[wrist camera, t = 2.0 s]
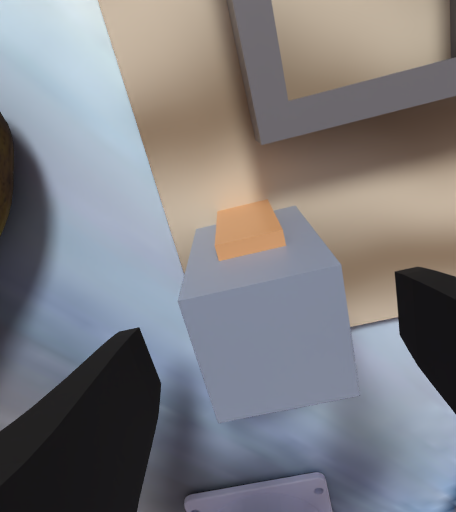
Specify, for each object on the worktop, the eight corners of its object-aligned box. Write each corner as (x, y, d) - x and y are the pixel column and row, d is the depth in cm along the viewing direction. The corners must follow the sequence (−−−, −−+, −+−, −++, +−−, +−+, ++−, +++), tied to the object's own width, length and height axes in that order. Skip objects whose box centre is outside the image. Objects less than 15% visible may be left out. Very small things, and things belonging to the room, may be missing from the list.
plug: (311, 294, 16) (359, 395, 10) (220, 314, 16) (218, 423, 10) (293, 192, 14) (338, 245, 8) (192, 217, 14) (171, 283, 9)
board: (471, 293, 16) (479, 300, 16) (210, 348, 17) (210, 356, 17) (468, -281, 10) (483, -304, 9) (57, -144, 11) (48, -158, 10)
